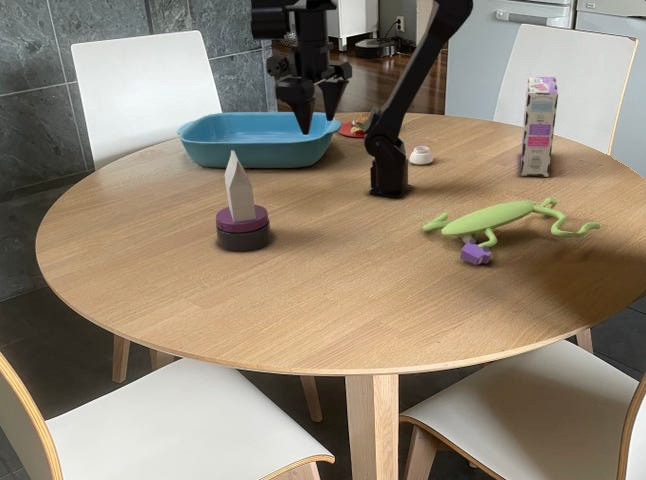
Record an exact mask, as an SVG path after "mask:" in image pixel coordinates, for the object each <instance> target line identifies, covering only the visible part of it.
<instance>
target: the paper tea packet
mask: <svg viewBox="0 0 646 480" xmlns="http://www.w3.org/2000/svg"><path fill="white" fill-rule="evenodd" d="M223 176H224V183H225V189H226V196H227V204H228V207H229V209H230V212H231V215H232V218H233V221H234V222H241V221H248V220H256V215H255V207H254V205H255V199H254V193H253V192H254V191H253V185H252V183H251V179H250V178H249V175H248V174H247V171H246V170H245V168H243V167H242V165H241V164H240V162H239V161H238V159H237V157H236V154H235V152H234V150H233V151H232V150H231V156H230V160H229V163H228V166H227V168H225V172H224V175H223Z"/></svg>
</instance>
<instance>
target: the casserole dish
mask: <svg viewBox="0 0 646 480" xmlns="http://www.w3.org/2000/svg"><path fill="white" fill-rule="evenodd" d="M342 124H343V123H342V122H341V121H340V120H338V119H336V116H334V118H333V120H332V121H327V118H326V114H325V112H320V111H319V112H316V111H313V116H312V121H311V127H310V131H309V134H308V135H303V134H302V131H301V129H300V127H299V124H298V122H297V119H296V117H295V115H294V112H293V111H235V112H234V111H233V112H231V111H230V112H229V111H228V112H217V113H211V114H207V115H204V116H201V117H200V118H197V119H195V120H191V121H188V122H186V123H184V124H182V125H181V126H180V127H179V128H178V129H177V130H176V133H177V135H179V139H180V141H181V144H182V145H183V147H184V149H185V151H186V153H187V154H188V156H189V157H190V159H191V160H192V161H193V162H194V163H196V164H198V165H200V166H202V167H205V168H219V169H220V168H221V169H227V166H228V163H229V160H230V156H231V150H232V151H233V150H234V152H235V154H236V157H237V159H238V161H239V162H240V164H241V165H242V167H243V168H244V169H251V168H253V169H296V168H307V167H309V166H312V165H314V164H316V163H317V162H318V161H319V160H320V159H322V157H323V155H324V154H325V153H326V151H327V150H328V148H329V146H330V144H331V142H332V138H333V134H336V133H338V132H337V131H339V130H340V128H341V126H342Z"/></svg>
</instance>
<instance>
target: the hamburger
mask: <svg viewBox="0 0 646 480" xmlns="http://www.w3.org/2000/svg"><path fill="white" fill-rule="evenodd" d="M370 114H371V111H368V112H360V113H359V114H358V115H357V116H356V118H355V119H354V120H351V121H346V122H344V123H342V126H341V128H340V130H339V131H337V132H336V133H339V134H340V135H343V136H347V137H356V138H364V122H365V121H366V120H367V119H368V118H369V116H370Z"/></svg>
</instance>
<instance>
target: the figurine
mask: <svg viewBox="0 0 646 480" xmlns="http://www.w3.org/2000/svg"><path fill="white" fill-rule="evenodd" d="M557 204H558V199H557V198H555V197H552V196H549V197H547V198H546V199H544V200H543V202H542V203H541V204H540V205H537V203H536V202H535V201H533V200H526V199H522V200H516V201H508V202H503V203H499V204H495V205H491V206H488V207H485V208H482V209H481V208H480V209H478V210H476V211H475V210H474V211H473V212H471V213H467V214H466V215H462V216H460V217H458V218H456V219H455V220H447V219H448V218H449V213H448V212H447V211H444V212H443V213H442V214H440V215H439V216H437V217H436V218H435V219H432V220H431V221H430V222H427V223H426V224H424V225H423V226H422V230H423V232H425V233H428V232H431V231H433V230H434V231H435V230H437V229H441V228H442V229H441V235H443V236H444V237H454V238H455V237H457V238H458V239H461V240H462V242H463V243H464V245H463V247H462V248H461V251H460V257H459V258H460V259H461V260H463V261H466V262H468V263H470V264H472V265H474V266H479V265H480V264H488V263H489V261H490V259H491V255H492V252H491V251H490V247H494V246H495V245H496V244H497V243H498V239H497V237H496V235H495V233H494V232H493V230H494V231H497V232H501V233H504V231H503V230H501V229H497V228H500V227H503V226H506V225H508V224H511V223H513V222H516V221H518V220H520V219H523V218H524V217H526V216H528V215H529V214H531V213H535V214H540V215H545V216H550V217H553V218H556V219H558V220H557V221H555V222H554V223H553V224H552V226H551V228H550V232H551V234H552V235H553V236H555V237H558V238H574V239H579V238H581V237H583V236H585V235H587V234H588V232H589V231H590V230H600V228H601V224H600V222H599V221H589V222H586V223H584V224H583V225H582V226H581V227H580V229H579V230H578V231H576V232H574V231H573V232H572V231H564V230H560V228H561V227H562V226H564V224H565V223H566V222H567V221H568V216H567V215H566V214H565V213H563V211H560V210H558V209H554V208H555V207H556V206H557ZM547 205H551V206H550V207H546V206H547ZM483 232H484V233H485V235H486V236H487V238H488V239H489V240H488V241H485V242H481V243H478V244H476V243H477V240H478V237H479V235H480V233H483Z"/></svg>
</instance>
